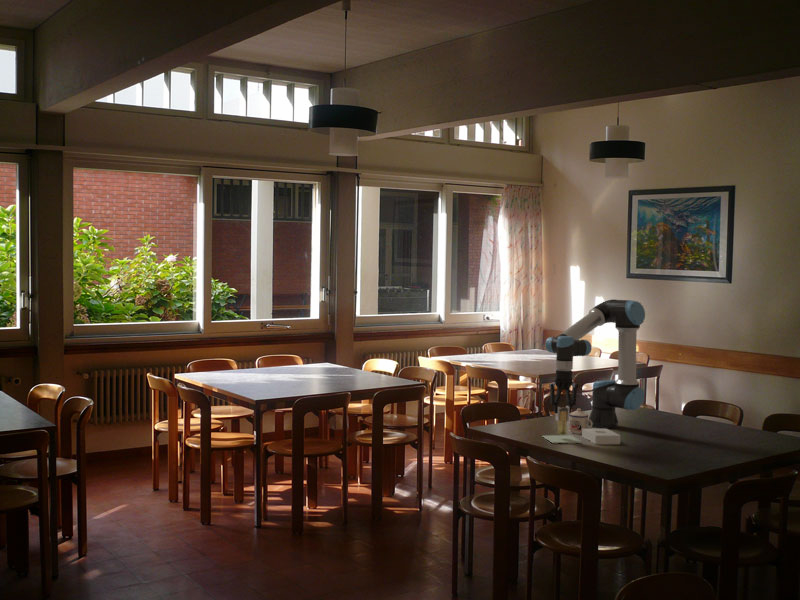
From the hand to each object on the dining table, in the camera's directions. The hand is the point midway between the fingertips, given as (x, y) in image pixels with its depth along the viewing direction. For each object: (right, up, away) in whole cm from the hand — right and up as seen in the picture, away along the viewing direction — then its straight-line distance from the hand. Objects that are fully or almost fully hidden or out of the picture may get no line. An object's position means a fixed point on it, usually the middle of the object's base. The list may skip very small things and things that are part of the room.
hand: (562, 420), depth 377 cm
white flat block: (+19, -10, +3) cm, 21 cm away
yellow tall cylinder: (0, -6, 0) cm, 6 cm away
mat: (0, -10, 0) cm, 10 cm away
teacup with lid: (+13, -9, +20) cm, 25 cm away
